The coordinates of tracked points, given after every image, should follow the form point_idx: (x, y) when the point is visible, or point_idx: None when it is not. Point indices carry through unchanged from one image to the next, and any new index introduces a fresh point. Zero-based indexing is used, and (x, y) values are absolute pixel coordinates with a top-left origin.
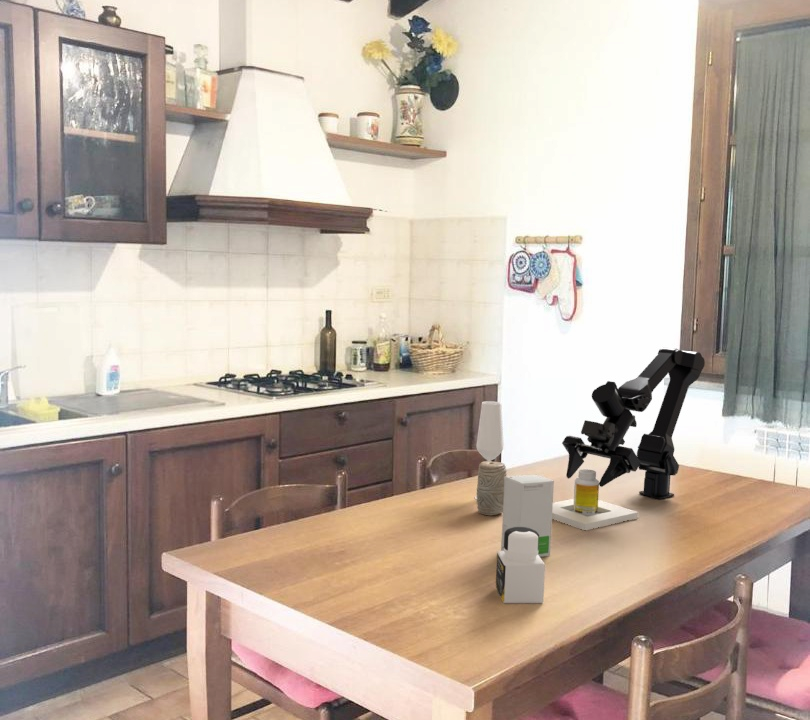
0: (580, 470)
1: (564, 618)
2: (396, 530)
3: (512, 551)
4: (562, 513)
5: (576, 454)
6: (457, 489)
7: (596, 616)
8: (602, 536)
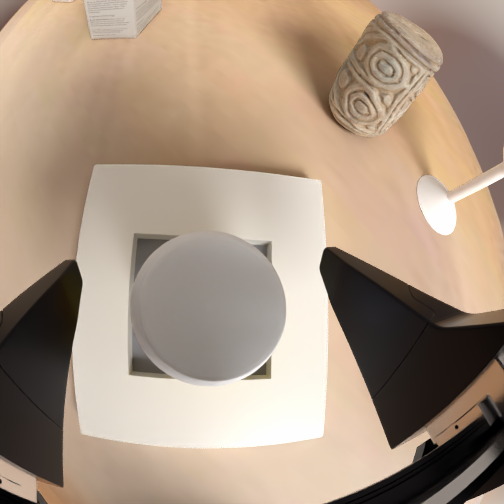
0: (266, 277)
1: (31, 7)
2: (318, 6)
3: None
4: (212, 190)
5: (444, 362)
6: (481, 209)
7: (9, 25)
8: (48, 179)
